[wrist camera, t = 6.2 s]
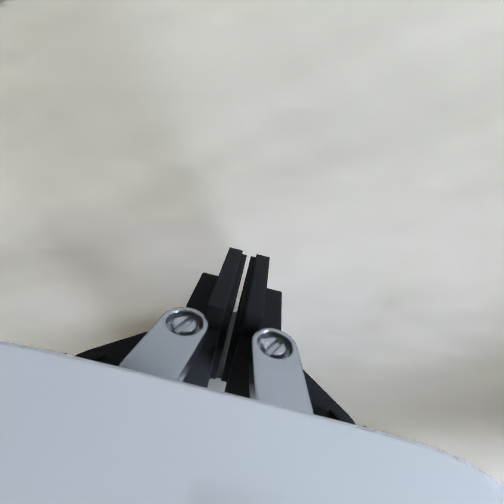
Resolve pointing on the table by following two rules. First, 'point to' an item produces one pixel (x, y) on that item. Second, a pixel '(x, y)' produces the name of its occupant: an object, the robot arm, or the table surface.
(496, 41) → the table surface
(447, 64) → the table surface
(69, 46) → the table surface
